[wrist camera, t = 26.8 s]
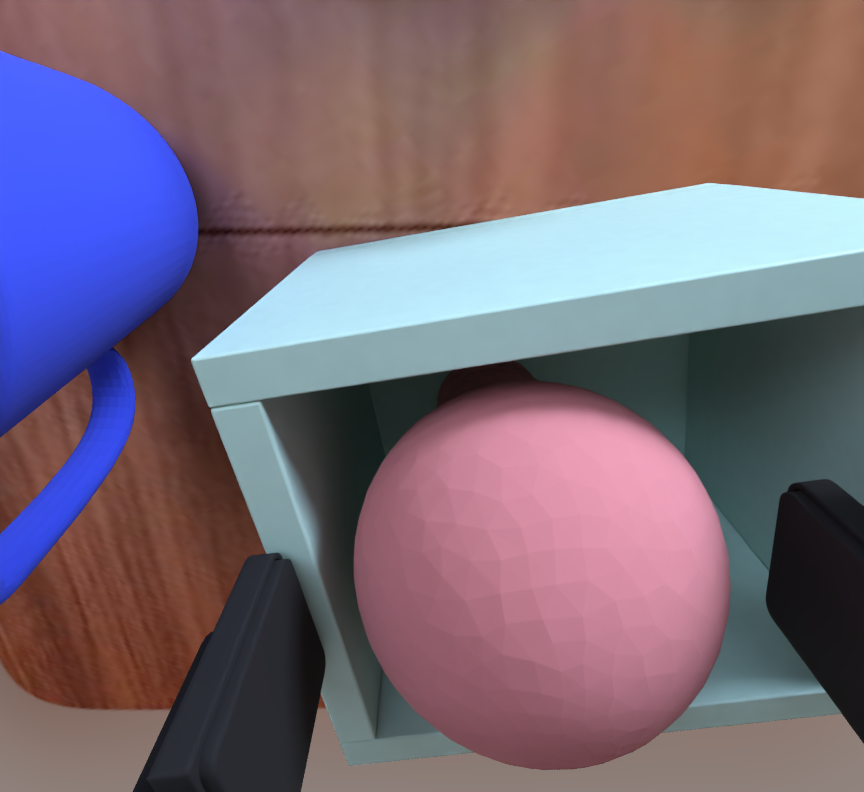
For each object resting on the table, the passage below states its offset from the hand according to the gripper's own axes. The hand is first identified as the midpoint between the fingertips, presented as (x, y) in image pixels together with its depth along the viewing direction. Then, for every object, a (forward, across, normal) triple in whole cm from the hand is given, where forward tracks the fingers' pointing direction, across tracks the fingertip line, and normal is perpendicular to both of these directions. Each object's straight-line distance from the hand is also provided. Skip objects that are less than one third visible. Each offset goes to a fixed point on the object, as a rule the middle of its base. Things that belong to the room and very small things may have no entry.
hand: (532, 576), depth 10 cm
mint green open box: (+10, -1, 0) cm, 10 cm away
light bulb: (+9, 0, 0) cm, 9 cm away
